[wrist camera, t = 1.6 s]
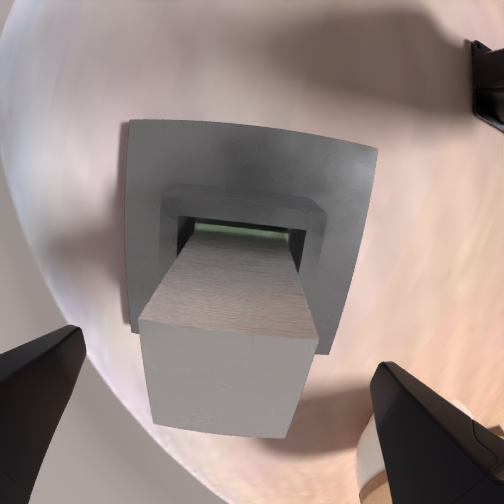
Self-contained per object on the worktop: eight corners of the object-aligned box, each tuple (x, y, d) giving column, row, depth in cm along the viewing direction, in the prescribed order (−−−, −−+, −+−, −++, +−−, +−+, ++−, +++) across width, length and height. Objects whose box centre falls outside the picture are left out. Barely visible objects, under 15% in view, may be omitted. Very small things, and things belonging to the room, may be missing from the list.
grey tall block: (283, 219, 16) (327, 334, 6) (271, 292, 17) (287, 445, 8) (204, 210, 16) (131, 311, 6) (199, 284, 17) (150, 429, 7)
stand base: (371, 148, 16) (413, 150, 11) (326, 346, 20) (341, 394, 16) (136, 121, 15) (95, 113, 10) (136, 324, 20) (110, 368, 15)
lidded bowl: (392, 359, 21) (446, 463, 11) (469, 374, 22) (516, 443, 12) (320, 442, 25) (335, 531, 15) (402, 445, 27) (427, 512, 16)
